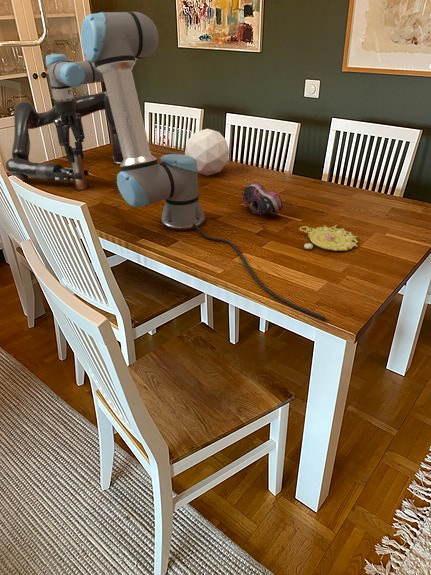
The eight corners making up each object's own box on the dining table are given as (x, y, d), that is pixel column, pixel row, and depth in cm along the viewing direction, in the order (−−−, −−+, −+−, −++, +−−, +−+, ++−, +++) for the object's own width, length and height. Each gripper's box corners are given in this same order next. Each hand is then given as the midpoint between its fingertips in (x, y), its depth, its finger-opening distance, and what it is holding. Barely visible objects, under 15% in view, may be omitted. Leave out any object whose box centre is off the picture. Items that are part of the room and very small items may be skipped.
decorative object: (343, 255, 128) (285, 234, 139) (342, 262, 130) (284, 241, 140) (372, 230, 142) (317, 213, 152) (371, 237, 143) (316, 219, 153)
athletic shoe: (254, 181, 170) (227, 189, 167) (283, 176, 151) (253, 185, 147) (260, 210, 173) (234, 218, 170) (290, 209, 154) (261, 219, 150)
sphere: (213, 191, 200) (211, 164, 181) (179, 169, 205) (173, 141, 186) (238, 162, 205) (238, 133, 186) (203, 141, 209) (200, 111, 191)
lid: (69, 152, 183) (68, 148, 182) (82, 151, 183) (81, 147, 182) (67, 156, 178) (66, 151, 177) (80, 155, 179) (79, 150, 178)
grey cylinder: (88, 186, 190) (81, 149, 182) (85, 189, 187) (78, 152, 178) (77, 186, 190) (70, 149, 182) (75, 190, 187) (67, 152, 178)
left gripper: (61, 175, 197) (95, 178, 192) (41, 186, 185) (77, 189, 181) (57, 158, 193) (92, 161, 188) (37, 168, 181) (73, 171, 177)
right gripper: (55, 104, 161) (68, 167, 174) (87, 96, 175) (97, 155, 188) (39, 103, 164) (53, 165, 177) (72, 95, 178) (83, 153, 190)
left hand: (84, 175), depth 185 cm, fingers closed on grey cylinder, 4 cm apart
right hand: (76, 160), depth 182 cm, fingers closed on lid, 5 cm apart
